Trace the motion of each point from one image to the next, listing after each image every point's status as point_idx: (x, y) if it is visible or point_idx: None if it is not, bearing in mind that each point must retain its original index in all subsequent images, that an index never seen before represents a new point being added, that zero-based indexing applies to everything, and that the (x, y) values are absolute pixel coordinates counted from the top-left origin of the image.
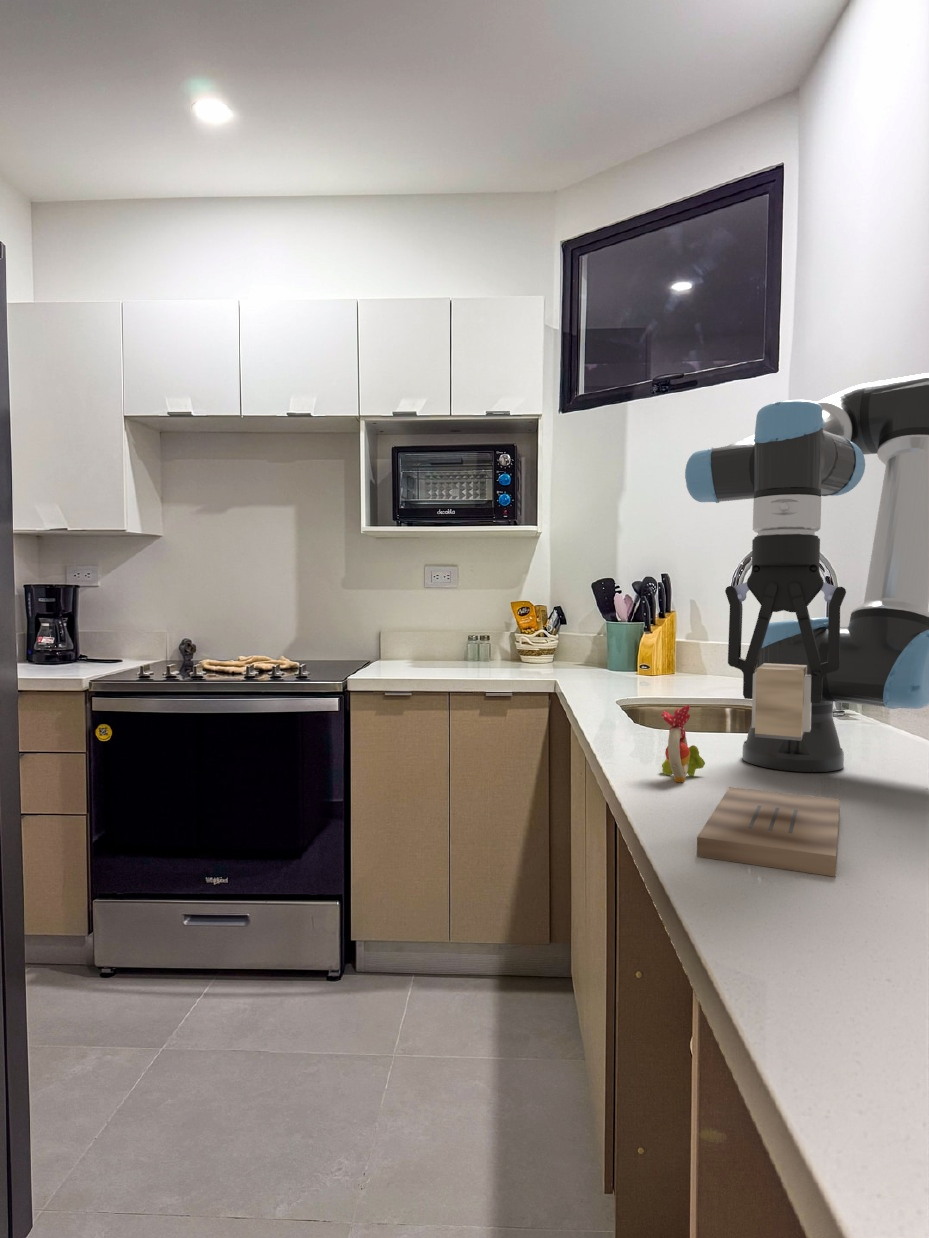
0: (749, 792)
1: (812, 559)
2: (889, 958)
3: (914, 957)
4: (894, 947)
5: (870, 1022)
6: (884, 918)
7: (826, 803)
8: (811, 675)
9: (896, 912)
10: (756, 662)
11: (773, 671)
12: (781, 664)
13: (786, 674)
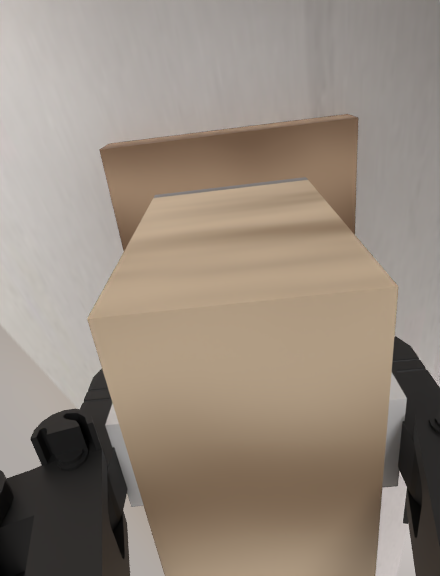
0: (157, 178)
1: None
2: (379, 563)
3: (398, 555)
4: (385, 548)
5: None
6: (384, 508)
7: (329, 184)
8: (401, 471)
9: (396, 493)
10: (105, 494)
11: None
12: (221, 349)
13: None
